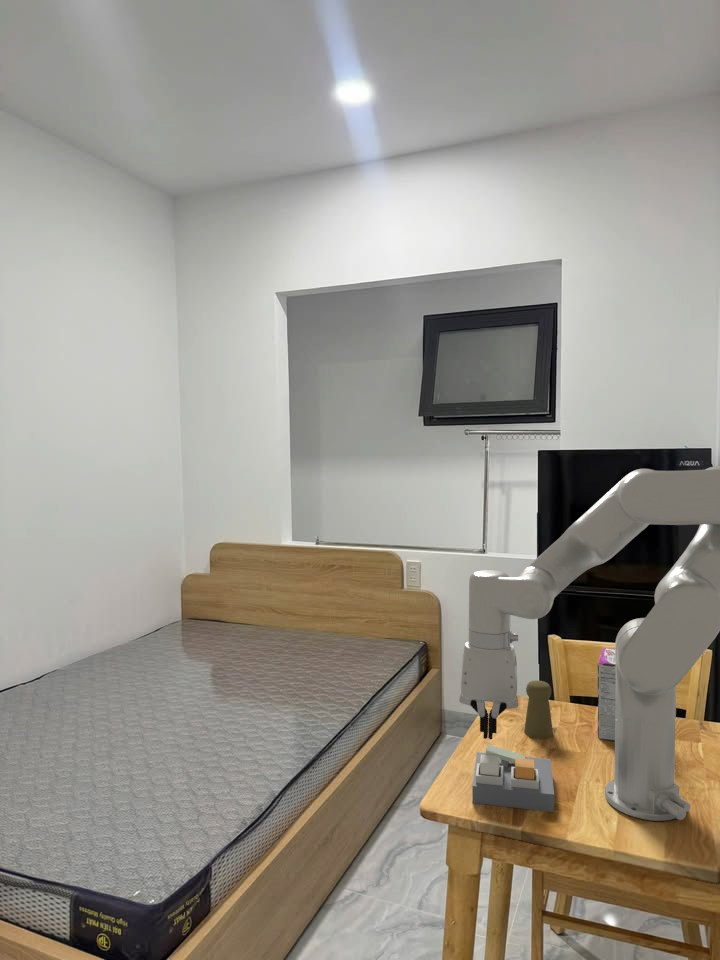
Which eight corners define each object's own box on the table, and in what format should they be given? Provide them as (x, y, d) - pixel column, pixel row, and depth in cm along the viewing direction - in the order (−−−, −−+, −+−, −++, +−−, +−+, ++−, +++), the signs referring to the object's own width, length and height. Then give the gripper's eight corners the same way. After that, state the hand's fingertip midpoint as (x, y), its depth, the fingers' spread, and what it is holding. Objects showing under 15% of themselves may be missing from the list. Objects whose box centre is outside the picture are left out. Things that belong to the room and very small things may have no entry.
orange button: (533, 770, 118) (533, 759, 118) (534, 779, 115) (534, 768, 115) (515, 768, 119) (515, 757, 119) (515, 777, 116) (515, 766, 116)
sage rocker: (523, 759, 124) (524, 755, 124) (523, 766, 122) (524, 762, 122) (486, 748, 126) (487, 744, 126) (485, 754, 123) (486, 750, 123)
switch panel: (550, 774, 126) (550, 752, 125) (554, 811, 113) (554, 787, 113) (476, 767, 129) (476, 745, 128) (472, 802, 116) (472, 778, 116)
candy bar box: (601, 719, 151) (601, 647, 150) (625, 722, 149) (626, 649, 148) (596, 739, 140) (596, 662, 140) (621, 743, 138) (622, 665, 138)
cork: (518, 730, 145) (518, 680, 145) (540, 724, 148) (540, 675, 147) (536, 741, 140) (536, 689, 139) (559, 735, 142) (559, 684, 142)
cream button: (499, 767, 120) (499, 756, 120) (498, 775, 117) (498, 764, 117) (481, 765, 120) (481, 754, 120) (480, 774, 117) (480, 762, 117)
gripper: (530, 635, 125) (529, 731, 126) (450, 630, 129) (449, 723, 130) (531, 647, 118) (530, 749, 119) (446, 641, 121) (445, 740, 122)
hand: (488, 735), depth 124 cm, fingers closed
